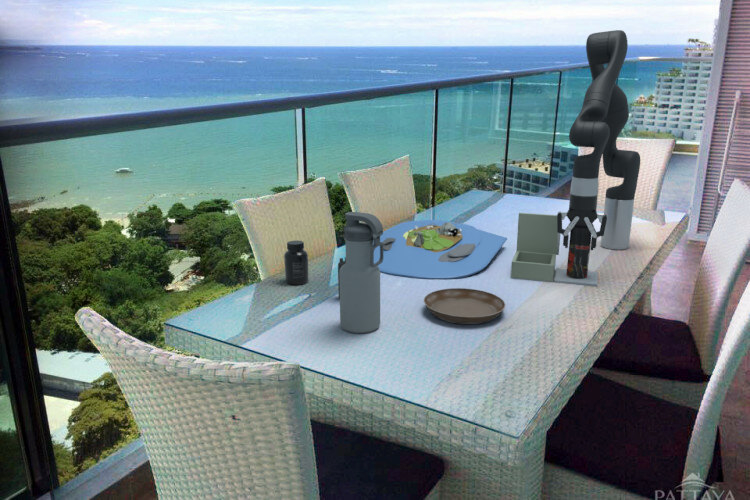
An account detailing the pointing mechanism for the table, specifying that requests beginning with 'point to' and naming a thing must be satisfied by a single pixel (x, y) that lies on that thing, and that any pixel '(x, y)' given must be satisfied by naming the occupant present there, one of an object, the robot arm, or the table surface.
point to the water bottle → (360, 274)
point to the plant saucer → (464, 305)
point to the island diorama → (436, 249)
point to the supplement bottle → (296, 263)
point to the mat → (563, 278)
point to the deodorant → (578, 252)
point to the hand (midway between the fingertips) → (579, 248)
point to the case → (536, 247)
